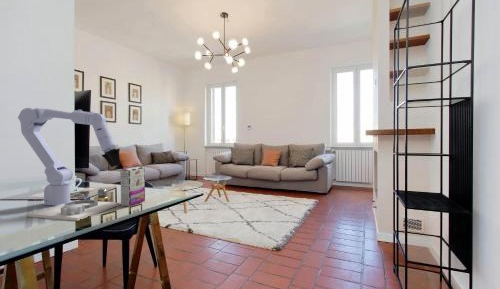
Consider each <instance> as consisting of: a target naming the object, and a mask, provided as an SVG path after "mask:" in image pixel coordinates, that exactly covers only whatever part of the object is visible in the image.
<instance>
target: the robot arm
mask: <svg viewBox="0 0 500 289" xmlns="http://www.w3.org/2000/svg"><path fill="white" fill-rule="evenodd" d="M52 119H63V120H70V121H71V122H73V123H74V124H81V125H88V126H89V125H90V126H92V128H93V131H94V134H95V135H96V136H95V137H96V139H97V141H98V143H99V147H100V149H101V151H102V152H103V154H101V156H102V158H104V160H105V161H107V163H108V164H109V166H110V167H111V168H113V167H116V166H118V165H121V159H120V148H117V147H118V146H119V144H116V143H115V142H114V140H113V137H112V135H111V132H110V129H109V127H108V125H107V117H106V116H105V115H103V114H102V113H98V112H94V111H83V109H77V110H73V111H72V112H68V111H62V110H57V109H51V108H50V109H49V108H37V107H36V108H31V107H26V108H23V109H22V110H20V112H19V114H18V116H17V120H19V122H20V129H21V130H20V131H21V134H22V136H23V137H24V139H25V140H26V141H27V143H28V144H29V146H30V147H31V148H32V150H33V151H34V153H35V154H36V156H37V157H38V160H40V161H41V164H43V167H44V168H45V169H44V174H45V176H46V181H47V182H48V184H47V185H46V186H45V188H44V190H43V203H42V204H41V205H42V206H51V205H52V206H51V207H54V206H58V205H62V204H65V203H69V202H72V201H73V200H71V180H72V178H73V177H74V176H73V175H74V174H73V171H72V170H71V169H70V168H68V167H67V166H66V165H65V164H64V163H62V162H60V161H59V159H58V158H57V156H56V155H55V153H54V152H53V151H52V148H50V146H49V144H47V141H46V140H45V139H44V137H43V136H42V134H41V133H40V131H41V129H42V127H43V126H45V124H46V123H47V122H48V120H52Z"/></svg>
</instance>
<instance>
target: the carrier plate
mask: <svg viewBox="0 0 500 289" xmlns="http://www.w3.org/2000/svg"><path fill="white" fill-rule="evenodd" d="M71 201H72V202H69V203H65V204H62V205H58V206H51V207H48V208H44V209H41V210H36V211H33V212H30V213H27V217H28V218H29V217H30V218H40V219H53V220H67V221H75V222H77V221H81V220H83V219H86V218H89V217H91V216H94V215H97V214H99V213H102V212H104V211H107V210H109V209H112V208H115V207H118V206H120V202H113V201H104V202H99V201H97V200H94V199H77V200H71ZM88 216H89V217H88ZM80 219H81V220H80Z"/></svg>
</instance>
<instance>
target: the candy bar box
mask: <svg viewBox="0 0 500 289" xmlns="http://www.w3.org/2000/svg"><path fill="white" fill-rule="evenodd" d="M119 172H120V174H119V175H120V206H121V207H132V206H135V205H137V204H139V203H142V202H144V201H146V184H145V183H146V182H145V181H146V180H145V176H146V175H145V172H146V171H145V166H133V167H126V168H123V169H120V171H119Z"/></svg>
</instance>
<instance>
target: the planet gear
mask: <svg viewBox="0 0 500 289" xmlns="http://www.w3.org/2000/svg"><path fill="white" fill-rule="evenodd" d="M111 198H112V197H111V195H108V194H107V189H106V188H100V189H98V190H97V195H96V196H95V197H93V200H97V201H99V202H110V200H111Z"/></svg>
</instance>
